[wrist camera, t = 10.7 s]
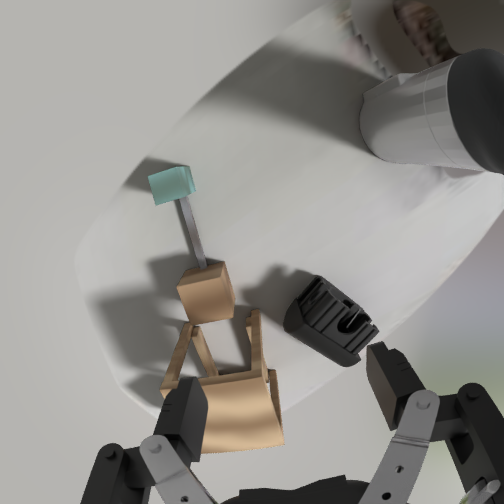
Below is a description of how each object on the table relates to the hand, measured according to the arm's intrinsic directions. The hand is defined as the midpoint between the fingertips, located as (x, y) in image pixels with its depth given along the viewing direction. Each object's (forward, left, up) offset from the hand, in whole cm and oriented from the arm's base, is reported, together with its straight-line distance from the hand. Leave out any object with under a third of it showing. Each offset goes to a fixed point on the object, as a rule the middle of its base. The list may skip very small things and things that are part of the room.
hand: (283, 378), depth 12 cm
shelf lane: (+14, -8, -23) cm, 28 cm away
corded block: (-2, -8, -23) cm, 24 cm away
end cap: (+11, +6, -23) cm, 26 cm away
